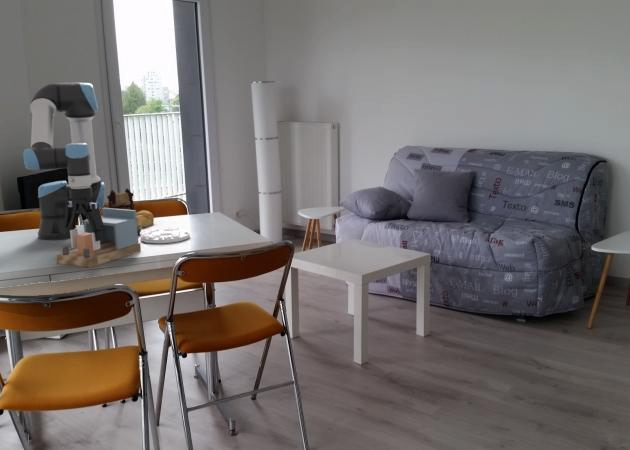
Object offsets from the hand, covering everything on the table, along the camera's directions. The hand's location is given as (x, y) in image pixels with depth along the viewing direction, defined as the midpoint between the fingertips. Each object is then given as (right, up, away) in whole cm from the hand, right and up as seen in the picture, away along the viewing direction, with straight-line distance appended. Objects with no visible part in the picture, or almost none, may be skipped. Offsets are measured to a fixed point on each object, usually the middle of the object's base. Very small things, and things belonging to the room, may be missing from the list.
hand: (85, 248), depth 228 cm
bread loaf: (+3, +8, +66) cm, 66 cm away
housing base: (+3, -3, +7) cm, 8 cm away
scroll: (+1, +4, +43) cm, 43 cm away
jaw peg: (0, -5, +1) cm, 5 cm away
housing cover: (+6, +1, +12) cm, 13 cm away
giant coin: (+20, +2, +35) cm, 41 cm away
